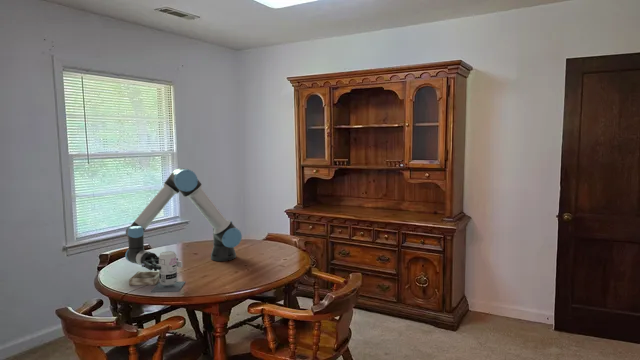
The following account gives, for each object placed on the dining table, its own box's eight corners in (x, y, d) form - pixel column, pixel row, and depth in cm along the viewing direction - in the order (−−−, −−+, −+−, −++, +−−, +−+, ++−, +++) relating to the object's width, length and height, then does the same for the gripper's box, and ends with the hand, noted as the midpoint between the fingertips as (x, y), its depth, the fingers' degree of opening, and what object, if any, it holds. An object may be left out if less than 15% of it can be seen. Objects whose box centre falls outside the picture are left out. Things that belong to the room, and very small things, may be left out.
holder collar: (163, 276, 225) (163, 270, 225) (156, 284, 212) (155, 278, 212) (138, 276, 224) (138, 271, 224) (129, 285, 211) (129, 279, 211)
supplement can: (162, 280, 212) (161, 251, 210) (179, 280, 213) (178, 250, 211) (157, 286, 204) (156, 255, 202) (175, 285, 204) (174, 255, 203)
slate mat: (185, 282, 215) (185, 281, 215) (178, 291, 202) (178, 290, 202) (159, 283, 214) (159, 282, 214) (151, 292, 201) (150, 291, 201)
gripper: (165, 261, 227) (192, 269, 213) (128, 271, 210) (154, 280, 196) (164, 247, 226) (191, 254, 213) (127, 256, 209) (154, 264, 196)
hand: (173, 266), depth 205 cm, fingers closed on supplement can, 8 cm apart
